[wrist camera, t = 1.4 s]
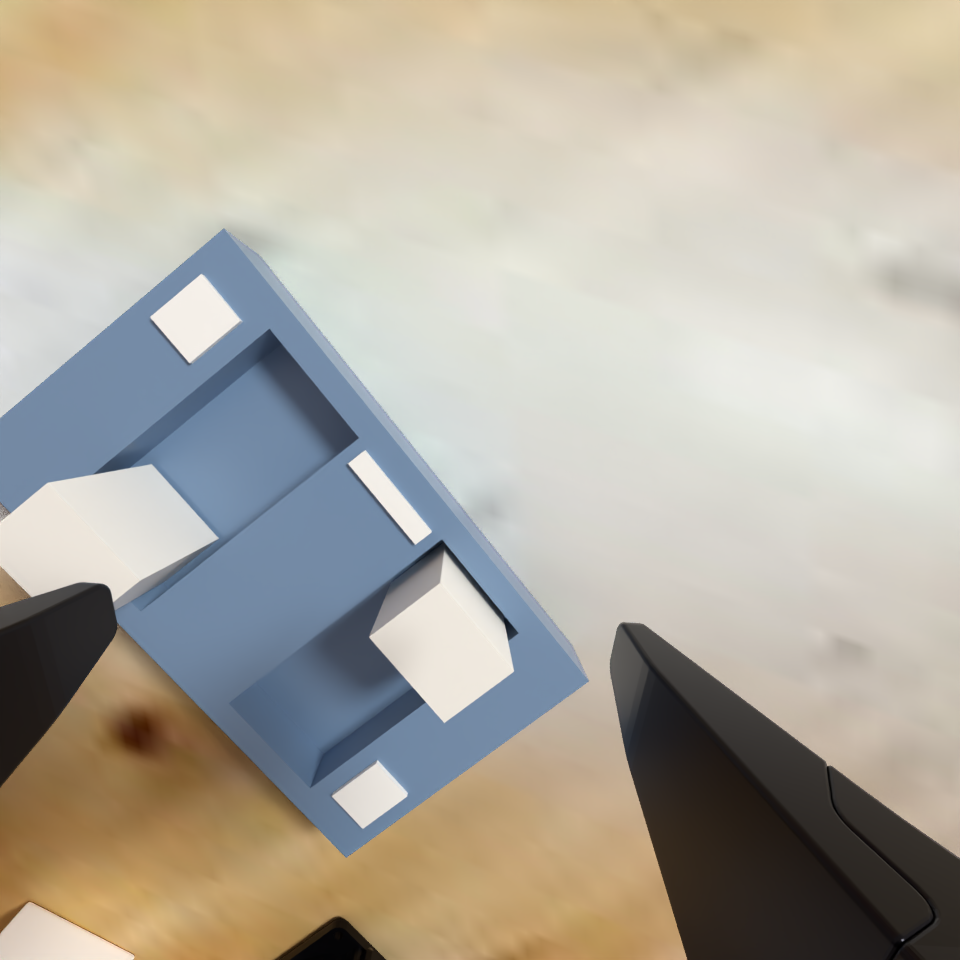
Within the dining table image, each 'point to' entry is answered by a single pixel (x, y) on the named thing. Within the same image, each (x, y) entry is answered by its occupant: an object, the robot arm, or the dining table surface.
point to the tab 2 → (443, 633)
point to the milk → (53, 939)
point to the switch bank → (283, 540)
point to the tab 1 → (102, 534)
